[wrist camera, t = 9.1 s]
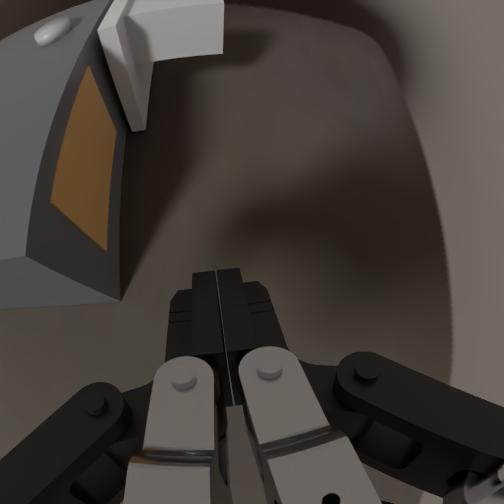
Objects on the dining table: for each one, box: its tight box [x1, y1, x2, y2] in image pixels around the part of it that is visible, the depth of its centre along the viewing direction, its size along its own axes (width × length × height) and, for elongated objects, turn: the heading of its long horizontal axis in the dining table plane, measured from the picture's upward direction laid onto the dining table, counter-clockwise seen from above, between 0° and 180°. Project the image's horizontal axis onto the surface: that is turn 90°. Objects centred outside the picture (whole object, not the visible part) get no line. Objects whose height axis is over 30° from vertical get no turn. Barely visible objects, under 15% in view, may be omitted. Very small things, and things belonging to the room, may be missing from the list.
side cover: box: [97, 0, 224, 132], centre depth 15 cm, size 6×12×8 cm, turn 8°
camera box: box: [0, 0, 128, 309], centre depth 11 cm, size 10×17×9 cm, turn 8°
